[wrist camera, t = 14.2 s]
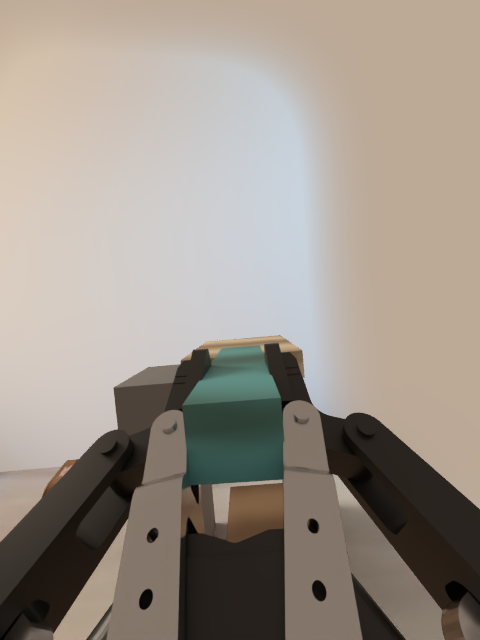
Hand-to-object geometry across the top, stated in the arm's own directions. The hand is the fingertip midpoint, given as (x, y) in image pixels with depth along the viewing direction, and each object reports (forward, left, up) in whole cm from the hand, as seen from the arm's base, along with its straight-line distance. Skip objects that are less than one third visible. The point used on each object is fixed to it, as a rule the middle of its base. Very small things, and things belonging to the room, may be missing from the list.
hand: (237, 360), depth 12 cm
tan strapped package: (+5, +3, -3) cm, 6 cm away
